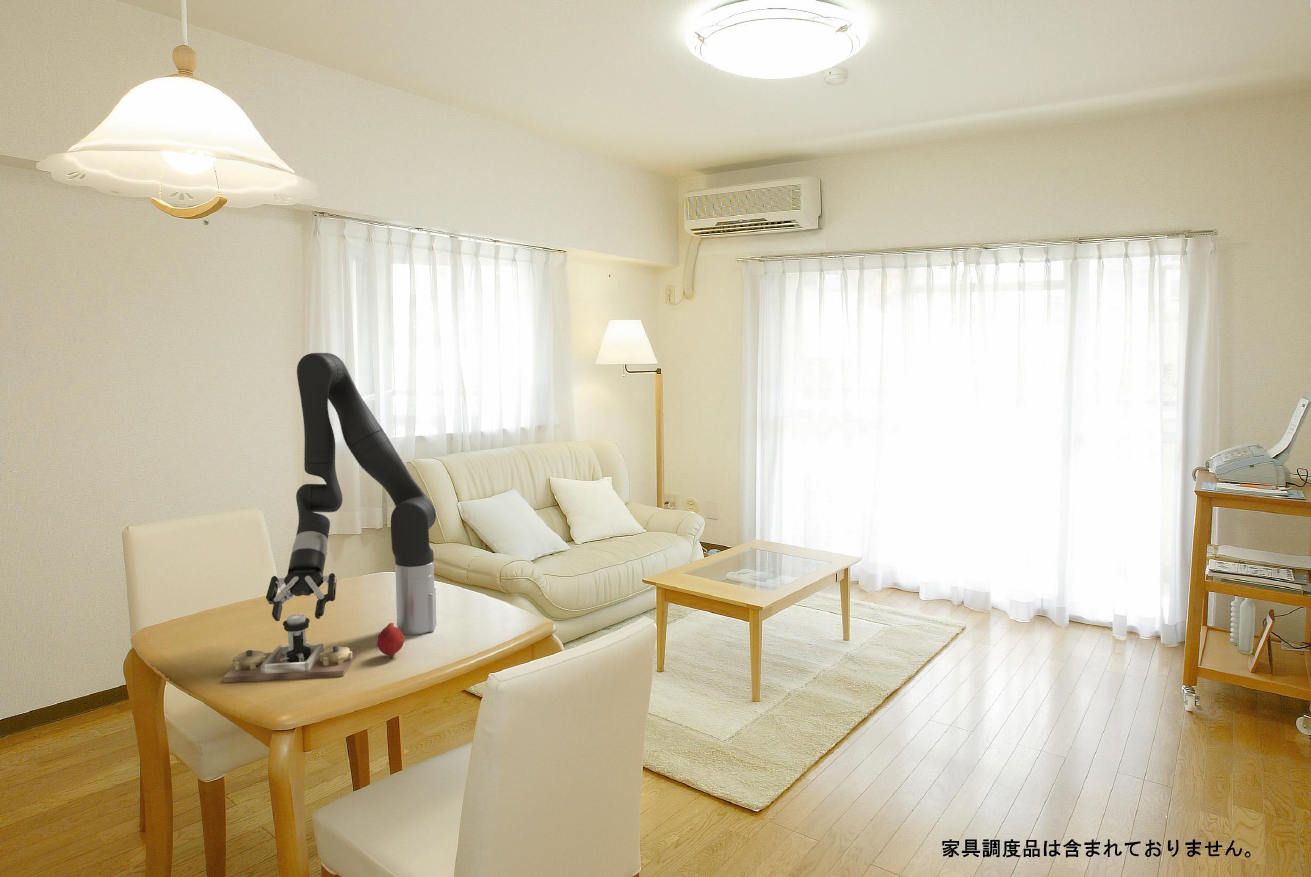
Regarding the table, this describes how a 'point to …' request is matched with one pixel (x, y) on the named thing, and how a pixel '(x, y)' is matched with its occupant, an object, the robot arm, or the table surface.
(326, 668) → the gear board
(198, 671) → the table surface
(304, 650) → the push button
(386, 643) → the onion
